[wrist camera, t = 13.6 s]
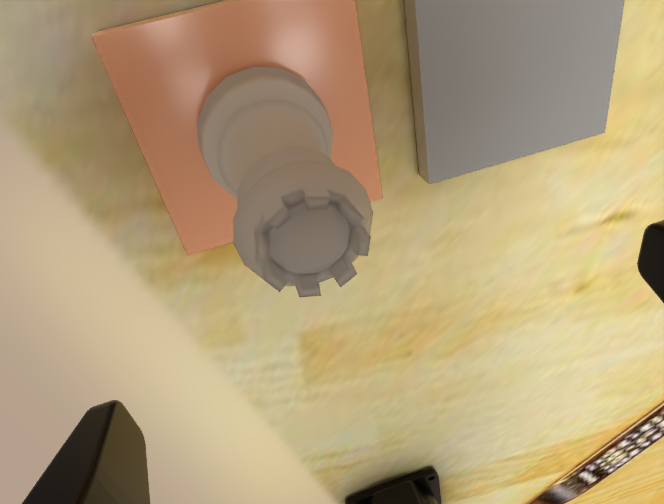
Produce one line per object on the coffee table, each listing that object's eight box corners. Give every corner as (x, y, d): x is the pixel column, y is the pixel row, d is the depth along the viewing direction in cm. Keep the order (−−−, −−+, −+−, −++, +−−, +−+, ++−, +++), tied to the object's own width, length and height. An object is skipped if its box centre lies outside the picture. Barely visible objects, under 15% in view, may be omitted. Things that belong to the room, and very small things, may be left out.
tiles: (588, 125, 21) (604, 132, 21) (187, 242, 20) (187, 255, 19) (616, -94, 17) (638, -96, 16) (96, 31, 15) (91, 36, 14)
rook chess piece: (340, 80, 17) (443, 170, 10) (307, 197, 19) (374, 335, 12) (208, 46, 15) (228, 127, 9) (187, 178, 17) (190, 324, 11)
